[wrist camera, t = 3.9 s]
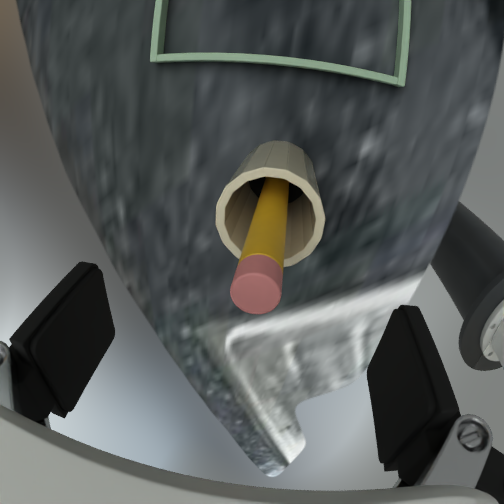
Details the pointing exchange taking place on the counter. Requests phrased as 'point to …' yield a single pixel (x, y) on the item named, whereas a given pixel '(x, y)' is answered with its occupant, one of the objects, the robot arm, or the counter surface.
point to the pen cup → (245, 200)
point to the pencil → (263, 252)
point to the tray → (397, 80)
